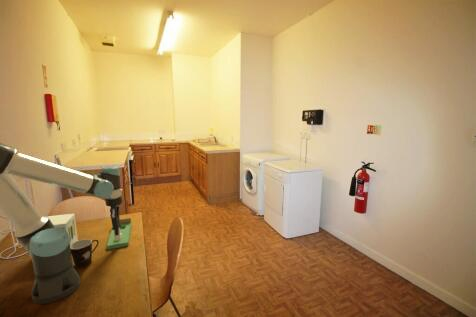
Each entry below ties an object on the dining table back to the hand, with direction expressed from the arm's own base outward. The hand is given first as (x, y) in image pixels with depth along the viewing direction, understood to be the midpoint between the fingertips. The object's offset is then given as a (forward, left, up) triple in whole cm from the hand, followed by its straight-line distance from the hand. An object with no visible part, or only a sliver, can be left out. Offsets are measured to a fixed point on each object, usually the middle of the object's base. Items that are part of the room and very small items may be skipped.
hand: (117, 239), depth 123 cm
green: (+12, 0, -4) cm, 12 cm away
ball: (+5, 0, 0) cm, 5 cm away
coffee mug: (-10, +12, -4) cm, 16 cm away
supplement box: (+5, +27, -4) cm, 28 cm away
